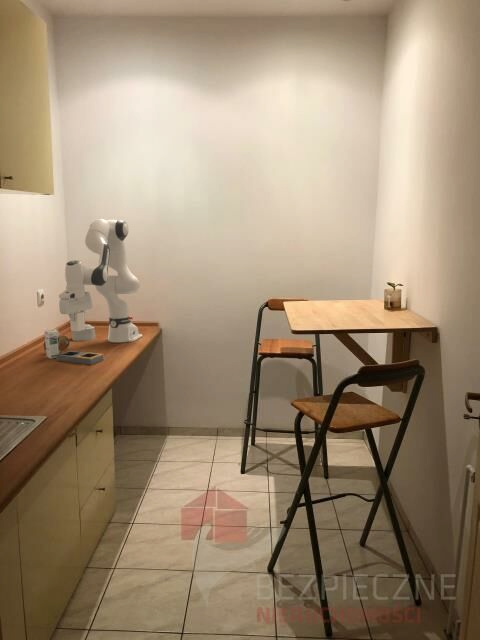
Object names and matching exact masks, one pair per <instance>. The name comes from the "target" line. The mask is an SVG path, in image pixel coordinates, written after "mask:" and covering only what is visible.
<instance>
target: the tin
mask: <svg viewBox="0 0 480 640" xmlns="http://www.w3.org/2000/svg"><path fill="white" fill-rule="evenodd" d="M59 341H60V352H63V351H64V352H65V351H66V350H68V348H69V346H70V339H69V338H68V336H66V335H59ZM43 349H44V351H45V352H46V344H45V341H44V342H43Z"/></svg>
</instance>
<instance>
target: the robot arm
mask: <svg viewBox="0 0 480 640" xmlns="http://www.w3.org/2000/svg"><path fill="white" fill-rule="evenodd" d="M128 234H129V225H128V224H127V222H126V221H125V220H122V219H107V220H105V219H103V218H96V219H95V220H94V221H93V222H91V223H90V225H89V228H88V230H87V232H86V235H85V237H84V238H85V240H84V242H85V246H86V247H87V249H88V250H89V251H91V252H92V253H94V254H97V255H99V258H98V259H99V260H98V264H97V265H95V266H92V265H91V266H90V265H89V266H86V265H84V264H82V261H81V260H70V261H68V262H66V264H65V269H64V271H65V273H64V274H65V275H64V277H65V278H64V279H65V281H66V286H65V290H63V292H61V293H59V295H58V298H59V304H58V305H59V313H60V314H62V315H68V317H69V320H70V319H71V321H75V318H74V317H73V313H74V312H84V315H85V314H86V310H91V309H92V308H93V300H92V296H91V293H90V292H89V291H88V290H86V291H85V289H86V288H85V286H95V289H96V291H97V292H98V293H99V294H100V295H102V296H103V298H105V300H106V302H107V305H108V311H109V318H108V322H109V325H108V337H107V340H108V342H110V343H127V342H129V343H131V342H135V341H137V340H138V339H140V338H142V337H143V334H141V333H139V328H138V326H136V325H135V324H134V323H132V321H131V320H133V319H134V317H133V315H132V316H131V315H130V316H129V305H128V302H127V301H126V300H123V299H121V298H120V297H119V295H130V294H134V293H137V292H138V291H139V290H140V286H141V284H140V281H139V279H138V277H137V276H135V275H134V274H133V273H132V272H131V270H130V269H129V267H128V262H127V248H126V247H127V246H126V241H125V239H126V238H127V237H128ZM109 268H110V269H112V270H114V271H116V272H117V274H116V275H109Z"/></svg>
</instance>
